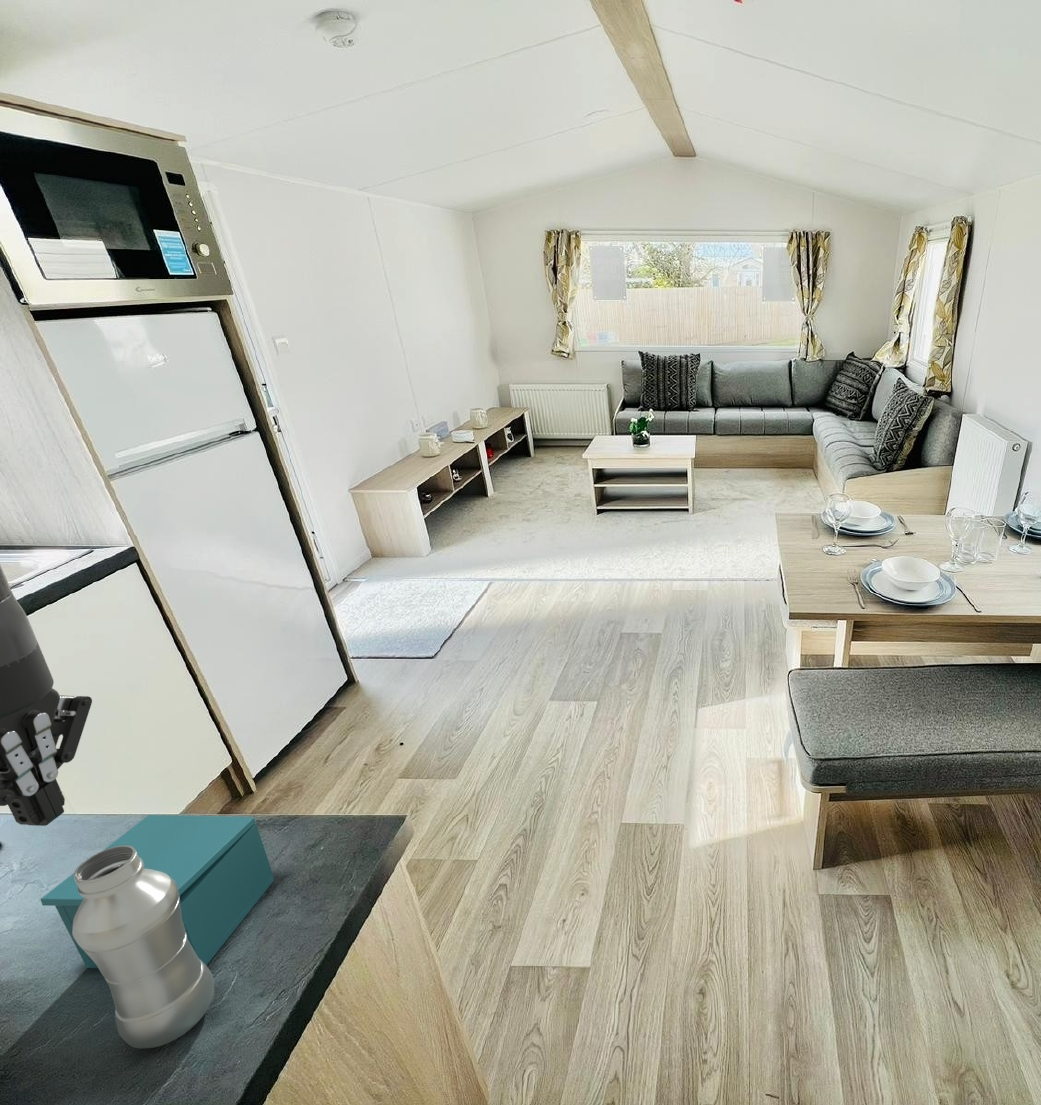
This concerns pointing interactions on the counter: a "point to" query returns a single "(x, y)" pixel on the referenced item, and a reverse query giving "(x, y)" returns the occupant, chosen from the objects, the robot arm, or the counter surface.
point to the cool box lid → (169, 849)
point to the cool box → (214, 897)
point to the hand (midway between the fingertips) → (44, 819)
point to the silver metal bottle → (140, 947)
